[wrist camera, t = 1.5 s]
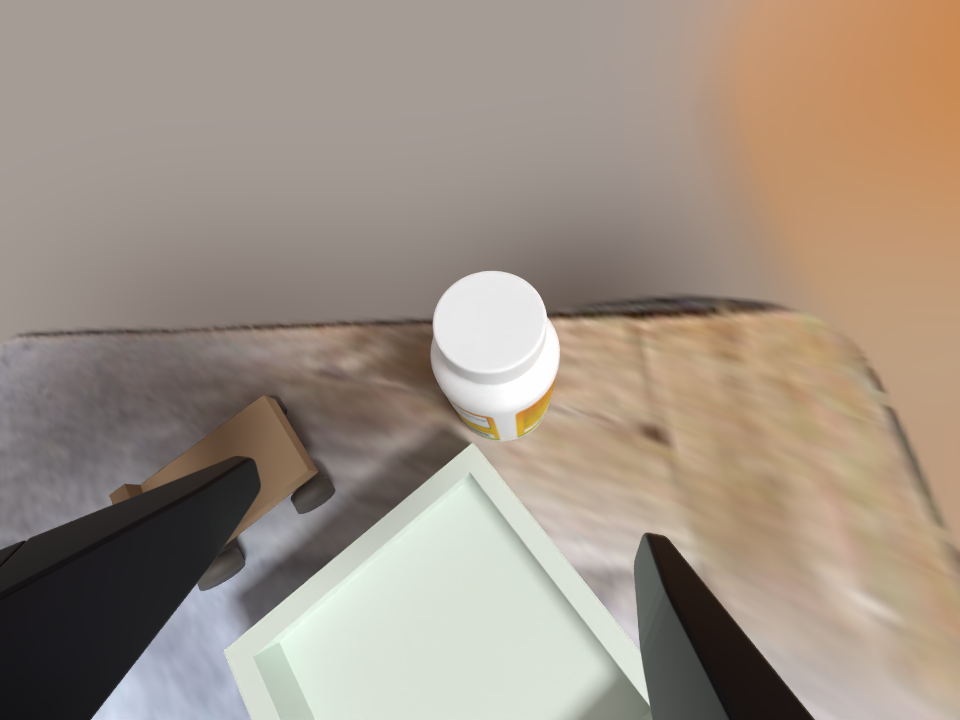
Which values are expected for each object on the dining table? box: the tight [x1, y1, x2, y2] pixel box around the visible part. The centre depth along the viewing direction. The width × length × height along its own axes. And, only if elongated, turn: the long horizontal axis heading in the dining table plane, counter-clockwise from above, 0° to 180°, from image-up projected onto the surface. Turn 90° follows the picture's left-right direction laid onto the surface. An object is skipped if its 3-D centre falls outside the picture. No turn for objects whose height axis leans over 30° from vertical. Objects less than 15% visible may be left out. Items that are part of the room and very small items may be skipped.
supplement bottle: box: [431, 271, 560, 441], centre depth 18 cm, size 5×5×10 cm
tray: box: [224, 443, 652, 720], centre depth 16 cm, size 14×14×2 cm
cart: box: [109, 395, 335, 591], centre depth 20 cm, size 8×7×4 cm
